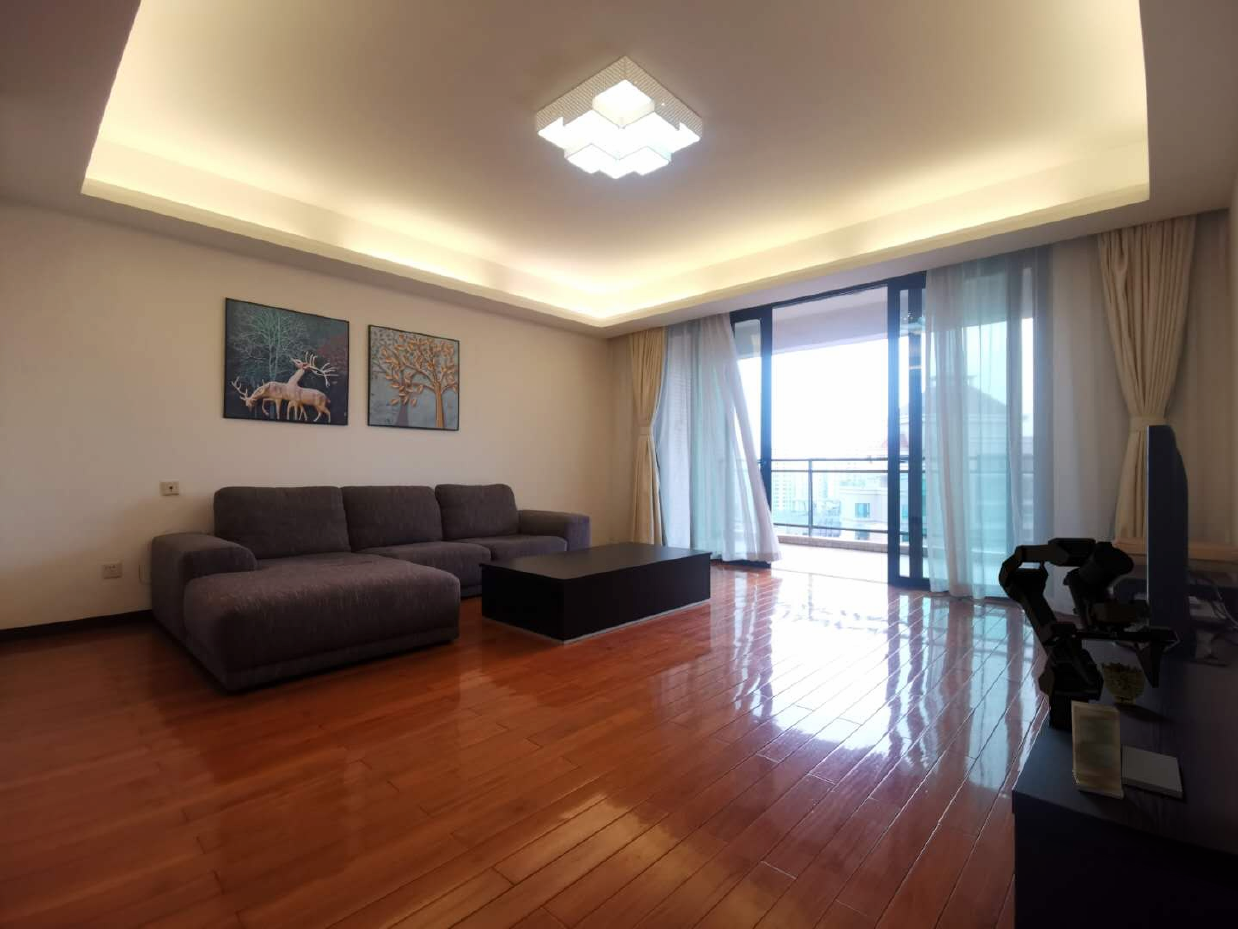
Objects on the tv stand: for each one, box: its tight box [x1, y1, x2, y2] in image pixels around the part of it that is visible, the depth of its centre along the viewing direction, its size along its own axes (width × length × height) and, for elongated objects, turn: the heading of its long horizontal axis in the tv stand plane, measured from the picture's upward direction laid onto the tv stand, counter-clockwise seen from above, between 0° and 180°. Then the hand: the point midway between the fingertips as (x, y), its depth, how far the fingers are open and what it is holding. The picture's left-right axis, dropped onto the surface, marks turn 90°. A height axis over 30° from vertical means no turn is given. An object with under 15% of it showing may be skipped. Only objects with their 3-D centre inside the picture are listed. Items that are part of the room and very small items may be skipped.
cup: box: [1100, 661, 1146, 707], centre depth 124 cm, size 8×7×8 cm
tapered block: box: [1071, 701, 1125, 797], centre depth 92 cm, size 6×5×13 cm
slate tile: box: [1121, 745, 1183, 796], centre depth 95 cm, size 7×14×1 cm, turn 138°
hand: (1123, 685), depth 96 cm, fingers open, 9 cm apart
